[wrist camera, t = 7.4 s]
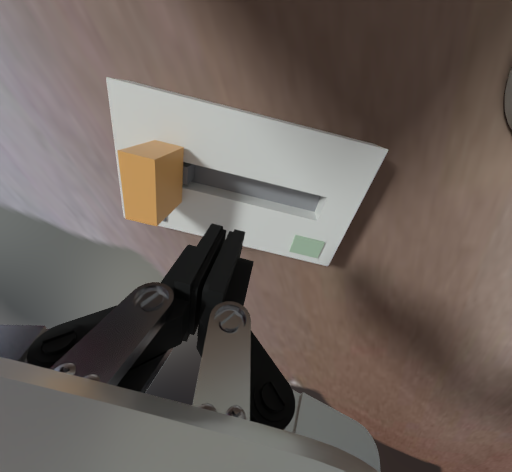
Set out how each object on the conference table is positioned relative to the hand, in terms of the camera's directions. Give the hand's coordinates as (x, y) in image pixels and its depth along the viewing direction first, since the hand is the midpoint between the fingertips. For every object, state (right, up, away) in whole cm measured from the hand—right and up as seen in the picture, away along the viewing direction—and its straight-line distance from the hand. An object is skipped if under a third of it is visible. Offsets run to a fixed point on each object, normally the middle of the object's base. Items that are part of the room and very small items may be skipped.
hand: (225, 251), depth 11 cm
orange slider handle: (-6, +8, +10) cm, 14 cm away
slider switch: (0, +7, +11) cm, 13 cm away
